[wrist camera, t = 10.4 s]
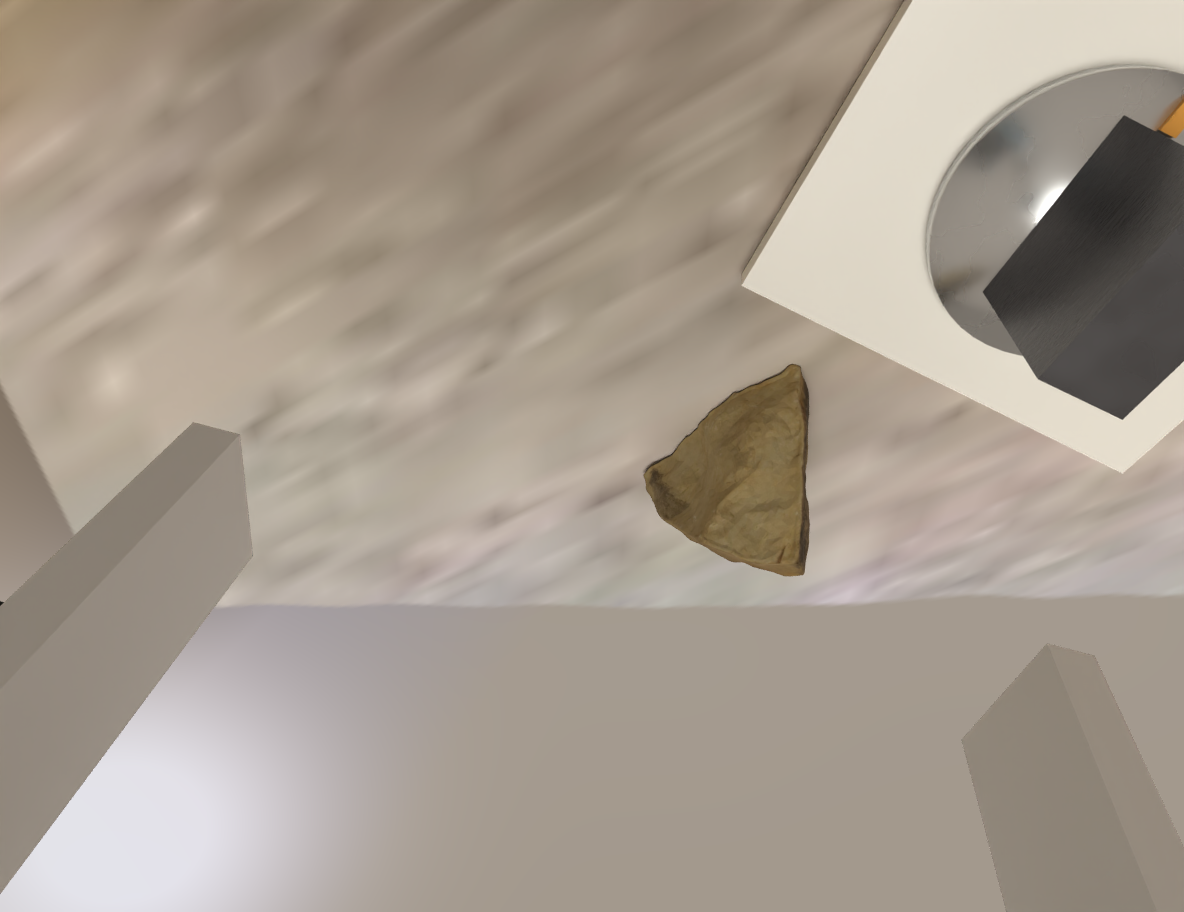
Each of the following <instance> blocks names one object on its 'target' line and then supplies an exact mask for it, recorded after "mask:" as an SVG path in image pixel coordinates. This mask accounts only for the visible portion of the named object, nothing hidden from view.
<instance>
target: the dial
mask: <svg viewBox="0 0 1184 912" xmlns="http://www.w3.org/2000/svg"><path fill="white" fill-rule="evenodd" d="M925 251H926V260H927V267H928V271H929V275H930V278H931V281H932V284H933V286H934V288H935V290H936V293H937V295H938V297H939V299H940V301H941V303H942V304H943V306H944V307H945V309H946V310H947V312H948V313H949V315H950V316H951V317H952V318H953V319H954V321H955V322H956V323H957V324H958V325H959V326H960V327H961V328H962V329H964V330H965V331H966V332H967V333H969V334H970V335H971V336H972V337H974V338H976V339H977V340H979V341H981V342H983V343H984V344H986V345H988V346H991V347H993V348H996V349H998V350H1001V351H1004V352H1008V353H1012V354H1016V355H1020V356H1023V357H1024V358H1025V360H1026V362H1027V363H1028V365H1029V366H1030V368H1031V369H1032V371H1033V373H1034V374H1035V376H1036V377H1037V379H1038V380H1040V381H1042V382H1044V383H1047V384H1049V385H1051V386H1053V387H1055V388H1057V389H1059V390H1061V391H1063V392H1065V393H1067V394H1069V395H1072V396H1074V397H1076V398H1078V399H1080V400H1082V401H1084V402H1086V403H1088V404H1090V405H1092V406H1094V407H1097V408H1099V409H1101V410H1103V411H1105V412H1107V413H1109V414H1111V415H1113V416H1115V417H1117V418H1119V419H1122V420H1123V419H1124V418H1125V417H1126V416H1127V415H1128V414H1129V413H1130V412H1131V411H1132V410H1133V409H1134V408H1135V407H1137V406H1138V405H1139V404H1140V403H1141V402H1142V401H1143V400H1144V399H1145V398H1146V397H1147V396H1148V395H1149V394H1150V393H1151V392H1152V391H1153V390H1154V389H1155V388H1156V387H1158V386H1159V385H1160V384H1161V383H1162V382H1163V381H1164V380H1165V379H1166V378H1167V377H1168V376H1169V375H1170V374H1171V373H1172V372H1173V371H1174V370H1175V369H1176V368H1177V367H1178V366H1180V365H1181V364H1182V363H1183V362H1184V74H1183V73H1180V72H1177V71H1173V70H1169V69H1165V68H1161V67H1157V66H1148V65H1138V64H1127V65H1110V66H1104V67H1098V68H1092V69H1087V70H1084V71H1080V72H1077V73H1073V74H1070V75H1066V76H1064V77H1061V78H1059V79H1057V80H1054V81H1052V82H1049V83H1047V84H1045V85H1042V86H1040V87H1039V88H1037V89H1035V90H1033V91H1031V92H1029V93H1028V94H1026V95H1024V96H1022V97H1021V98H1019V99H1018V100H1016V101H1015V102H1013V103H1012V104H1010V105H1009V106H1007V107H1006V108H1005V109H1003V110H1002V111H1001V112H999V113H998V114H997V115H996V116H995V117H993V118H992V119H991V120H990V121H989V122H988V123H986V124H985V125H984V126H983V127H982V128H981V129H980V130H979V131H978V132H977V133H976V134H975V135H974V136H973V138H972V139H971V140H970V141H969V142H968V143H967V144H966V145H965V147H964V148H963V149H962V151H961V152H960V153H959V154H958V156H957V157H956V158H955V160H954V161H953V163H952V165H951V166H950V168H949V169H948V171H947V173H946V174H945V176H944V178H943V180H942V182H941V184H940V186H939V188H938V191H937V193H936V195H935V198H934V201H933V204H932V207H931V210H930V213H929V218H928V224H927V229H926V243H925Z"/></svg>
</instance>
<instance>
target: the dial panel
mask: <svg viewBox="0 0 1184 912" xmlns="http://www.w3.org/2000/svg"><path fill="white" fill-rule="evenodd" d="M1127 64H1138V65H1148V66H1157V67H1161V68H1165V69H1169V70H1173V71H1177V72H1180V73H1183V74H1184V0H904V2H903V3H902V5H901V7H900V8H899V10H898V12H897V13H896V15H895V17H894V19H893V20H892V22H891V24H890V25H889V27H888V29H887V30H886V32H885V34H884V35H883V37H882V39H881V40H880V42H879V44H878V45H877V47H876V49H875V51H874V52H873V54H872V56H871V57H870V59H869V61H868V62H867V64H866V66H865V67H864V69H863V71H862V72H861V74H860V76H859V77H858V79H857V81H856V83H855V84H854V86H853V88H852V89H851V91H850V93H849V94H848V96H847V98H846V99H845V101H844V103H843V104H842V106H841V108H840V109H839V111H838V113H837V115H836V116H835V118H834V120H833V121H832V123H831V125H830V126H829V128H828V130H827V131H826V133H825V135H824V136H823V138H822V140H821V141H820V143H819V145H818V147H817V148H816V150H815V152H814V153H813V155H812V157H811V158H810V160H809V162H808V163H807V165H806V167H805V168H804V170H803V172H802V173H801V175H800V177H799V179H798V180H797V182H796V184H795V185H794V187H793V189H792V190H791V192H790V194H789V195H788V197H787V199H786V200H785V202H784V204H783V205H782V207H781V209H780V211H779V212H778V214H777V216H776V217H775V219H774V221H773V222H772V224H771V226H770V227H769V229H768V231H767V232H766V234H765V236H764V237H763V239H762V241H761V243H760V244H759V246H758V248H757V249H756V251H755V253H754V254H753V256H752V258H751V259H750V261H749V263H748V264H747V266H746V268H745V269H744V271H743V273H742V286H743V287H745V288H747V289H749V290H751V291H753V292H755V293H757V294H759V295H761V296H763V297H765V298H767V299H769V300H771V301H773V302H776V303H778V304H780V305H782V306H784V307H786V308H788V309H790V310H792V311H794V312H796V313H798V314H800V315H802V316H804V317H806V318H808V319H810V320H812V321H814V322H816V323H818V324H820V325H822V326H824V327H826V328H828V329H830V330H832V331H834V332H836V333H838V334H840V335H842V336H844V337H847V338H849V339H851V340H853V341H855V342H857V343H859V344H861V345H863V346H865V347H867V348H869V349H871V350H873V351H875V352H877V353H879V354H881V355H883V356H885V357H887V358H889V359H891V360H893V361H895V362H897V363H899V364H901V365H903V366H905V367H907V368H909V369H911V370H913V371H916V372H918V373H920V374H922V375H924V376H926V377H928V378H930V379H932V380H934V381H936V382H938V383H940V384H942V385H944V386H946V387H948V388H950V389H952V390H954V391H956V392H958V393H960V394H962V395H964V396H966V397H968V398H970V399H972V400H974V401H976V402H978V403H980V404H982V405H984V406H987V407H989V408H991V409H993V410H995V411H997V412H999V413H1001V414H1003V415H1005V416H1007V417H1009V418H1011V419H1013V420H1015V421H1017V422H1019V423H1021V424H1023V425H1025V426H1027V427H1029V428H1031V429H1033V430H1035V431H1037V432H1039V433H1041V434H1043V435H1045V436H1047V437H1049V438H1051V439H1053V440H1056V441H1058V442H1060V443H1062V444H1064V445H1066V446H1068V447H1070V448H1072V449H1074V450H1076V451H1078V452H1080V453H1082V454H1084V455H1086V456H1088V457H1090V458H1092V459H1094V460H1096V461H1098V462H1100V463H1102V464H1104V465H1106V466H1108V467H1110V468H1112V469H1114V470H1116V471H1118V472H1120V473H1124V472H1125V471H1126V470H1127V469H1128V468H1129V467H1130V466H1132V465H1133V464H1134V463H1135V462H1136V461H1137V460H1138V459H1140V458H1141V457H1142V456H1143V455H1144V454H1145V453H1146V452H1148V451H1149V450H1150V449H1151V448H1152V447H1153V446H1154V445H1156V444H1157V443H1158V442H1159V441H1160V440H1161V439H1162V438H1163V437H1165V436H1166V435H1167V434H1168V433H1169V432H1170V431H1171V430H1173V429H1174V428H1175V427H1176V426H1177V425H1178V424H1179V423H1181V422H1182V421H1183V420H1184V362H1183V363H1182V364H1181V365H1180V366H1178V367H1177V368H1176V369H1175V370H1174V371H1173V372H1172V373H1171V374H1170V375H1169V376H1168V377H1167V378H1166V379H1165V380H1164V381H1163V382H1162V383H1161V384H1160V385H1159V386H1158V387H1156V388H1155V389H1154V390H1153V391H1152V392H1151V393H1150V394H1149V395H1148V396H1147V397H1146V398H1145V399H1144V400H1143V401H1142V402H1141V403H1140V404H1139V405H1138V406H1137V407H1135V408H1134V409H1133V410H1132V411H1131V412H1130V413H1129V414H1128V415H1127V416H1126V417H1125V418H1124V419H1123V420H1122V419H1119V418H1117V417H1115V416H1113V415H1111V414H1109V413H1107V412H1105V411H1103V410H1101V409H1099V408H1097V407H1094V406H1092V405H1090V404H1088V403H1086V402H1084V401H1082V400H1080V399H1078V398H1076V397H1074V396H1072V395H1069V394H1067V393H1065V392H1063V391H1061V390H1059V389H1057V388H1055V387H1053V386H1051V385H1049V384H1047V383H1044V382H1042V381H1040V380H1038V379H1037V377H1036V376H1035V374H1034V373H1033V371H1032V369H1031V368H1030V366H1029V365H1028V363H1027V362H1026V360H1025V358H1024V357H1023V356H1020V355H1016V354H1012V353H1008V352H1004V351H1001V350H998V349H996V348H993V347H991V346H988V345H986V344H984V343H983V342H981V341H979V340H977V339H976V338H974V337H972V336H971V335H970V334H969V333H967V332H966V331H965V330H964V329H962V328H961V327H960V326H959V325H958V324H957V323H956V322H955V321H954V319H953V318H952V317H951V316H950V315H949V313H948V312H947V310H946V309H945V307H944V306H943V304H942V303H941V301H940V299H939V297H938V295H937V293H936V290H935V288H934V286H933V284H932V281H931V278H930V275H929V271H928V267H927V260H926V251H925V243H926V229H927V224H928V218H929V213H930V210H931V207H932V204H933V201H934V198H935V195H936V193H937V191H938V188H939V186H940V184H941V182H942V180H943V178H944V176H945V174H946V173H947V171H948V169H949V168H950V166H951V165H952V163H953V161H954V160H955V158H956V157H957V156H958V154H959V153H960V152H961V151H962V149H963V148H964V147H965V145H966V144H967V143H968V142H969V141H970V140H971V139H972V138H973V136H974V135H975V134H976V133H977V132H978V131H979V130H980V129H981V128H982V127H983V126H984V125H985V124H986V123H988V122H989V121H990V120H991V119H992V118H993V117H995V116H996V115H997V114H998V113H999V112H1001V111H1002V110H1003V109H1005V108H1006V107H1007V106H1009V105H1010V104H1012V103H1013V102H1015V101H1016V100H1018V99H1019V98H1021V97H1022V96H1024V95H1026V94H1028V93H1029V92H1031V91H1033V90H1035V89H1037V88H1039V87H1040V86H1042V85H1045V84H1047V83H1049V82H1052V81H1054V80H1057V79H1059V78H1061V77H1064V76H1066V75H1070V74H1073V73H1077V72H1080V71H1084V70H1087V69H1092V68H1098V67H1104V66H1110V65H1127Z"/></svg>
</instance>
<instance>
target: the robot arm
mask: <svg viewBox="0 0 1184 912" xmlns="http://www.w3.org/2000/svg"><path fill="white" fill-rule="evenodd" d="M252 556H253V551H252V541H251V532H250V523H249V514H248V504H247V495H246V486H245V476H244V467H243V458H242V449H241V439H240V434H236V433H233V432H229V431H225V430H221V429H217V428H213V427H209V426H206V425H202V424H198V423H194V422H193V423H192V424H191V425H190V426H189V427H188V428H187V429H186V430H185V431H184V432H183V433H182V434H181V435H180V436H178V437H177V438H176V439H175V440H174V441H173V442H172V443H171V444H170V445H169V446H168V447H167V448H166V449H165V450H164V451H163V452H162V453H161V454H160V455H159V456H157V457H156V458H155V459H154V460H153V461H152V462H151V463H150V464H149V465H148V466H147V467H146V468H145V469H144V470H143V471H142V472H141V473H140V474H139V475H138V476H136V477H135V478H134V479H133V480H132V481H131V482H130V483H129V484H128V485H127V486H126V487H125V488H124V489H123V490H122V491H121V492H120V493H119V494H118V495H117V496H115V497H114V498H113V499H112V500H111V501H110V502H109V503H108V504H107V505H106V506H105V507H104V508H103V509H102V510H101V511H100V512H99V513H98V514H97V515H96V516H94V517H93V518H92V519H91V520H90V521H89V522H88V523H87V524H86V525H85V526H84V527H83V528H82V529H81V530H80V531H79V532H78V533H77V534H76V535H75V536H73V537H72V538H71V539H70V540H69V541H68V542H67V543H66V544H65V545H64V546H63V547H62V548H61V549H60V550H59V551H58V552H57V553H56V554H55V555H53V556H52V557H51V558H50V559H49V560H48V561H47V562H46V563H45V564H44V565H43V566H42V567H41V568H40V569H39V570H38V571H37V572H36V573H35V574H34V575H32V576H31V577H30V578H29V579H28V580H27V581H26V582H25V583H24V584H23V585H22V586H21V587H20V588H19V589H18V590H17V591H16V592H15V593H14V594H13V595H12V596H10V597H9V598H8V599H7V600H6V601H5V602H1V601H0V894H1V892H2V891H3V890H4V888H5V887H6V886H7V884H8V883H9V881H10V880H11V879H12V878H13V876H14V875H15V874H16V872H17V871H18V870H19V868H20V867H21V866H22V864H23V863H24V862H25V860H26V859H27V858H28V856H29V855H30V854H31V852H32V851H33V850H34V848H35V847H36V845H37V844H38V843H39V842H40V840H41V839H42V837H43V836H44V835H45V833H46V832H47V831H48V829H49V828H50V826H51V825H52V824H53V823H54V821H55V820H56V819H57V817H58V816H59V815H60V813H61V812H62V811H63V809H64V808H65V807H66V805H67V804H68V803H69V801H70V800H71V798H72V797H73V796H74V795H75V793H76V792H77V791H78V789H79V788H80V787H81V785H82V784H83V783H84V781H85V780H86V778H87V777H88V776H89V774H90V773H91V772H92V770H93V769H94V768H95V766H96V765H97V764H98V762H99V761H100V760H101V758H102V757H103V756H104V754H105V753H106V752H107V750H108V749H109V748H110V746H111V745H112V744H113V742H114V741H115V739H116V738H117V737H118V736H119V734H120V733H121V731H122V730H123V729H124V728H125V726H126V725H127V724H128V722H129V721H130V720H131V718H132V717H133V716H134V714H135V713H136V711H137V710H138V709H139V707H140V706H141V705H142V703H143V702H144V701H145V699H146V698H147V697H148V695H149V694H150V693H151V691H152V690H153V689H154V687H155V686H156V685H157V683H158V682H159V681H160V679H161V678H162V677H163V675H164V674H165V672H166V671H167V670H168V669H169V667H170V666H171V664H172V663H173V662H174V661H175V659H176V658H177V657H178V655H179V654H180V653H181V651H182V650H183V649H184V647H185V646H186V644H187V643H188V642H189V640H190V639H191V638H192V636H193V635H194V634H195V632H196V631H197V630H198V628H199V627H200V625H201V624H202V623H203V622H204V620H205V619H206V617H207V616H208V615H209V614H210V612H211V611H212V610H213V608H214V607H215V606H216V604H217V603H218V602H219V600H220V599H221V598H222V596H223V595H224V594H225V592H226V591H227V590H228V588H229V587H230V586H231V584H232V583H233V581H234V580H235V579H236V577H237V576H238V575H239V573H240V572H241V571H242V569H243V568H244V567H245V565H246V564H247V563H248V561H249V560H250V559H251V557H252ZM962 744H963V747H964V752H965V755H966V759H967V763H968V767H969V771H970V774H971V778H972V782H973V786H974V790H975V793H976V797H977V801H978V805H979V809H980V813H981V816H982V820H983V824H984V828H985V832H986V836H987V840H988V843H989V847H990V851H991V855H992V859H993V862H994V866H995V870H996V874H997V878H998V882H999V885H1000V889H1001V893H1002V897H1003V901H1004V905H1005V908H1006V912H1184V847H1183V844H1182V842H1181V840H1180V838H1179V836H1178V833H1177V831H1176V829H1175V827H1174V825H1173V823H1172V820H1171V818H1170V816H1169V814H1168V812H1167V810H1166V808H1165V805H1164V804H1163V801H1162V799H1161V797H1160V795H1159V793H1158V790H1157V788H1156V786H1155V784H1154V782H1153V780H1152V778H1151V775H1150V773H1149V771H1148V769H1147V767H1146V765H1145V763H1144V760H1143V758H1142V756H1141V754H1140V752H1139V750H1138V748H1137V745H1136V743H1135V741H1134V739H1133V737H1132V735H1131V733H1130V730H1129V728H1128V726H1127V724H1126V722H1125V720H1124V717H1123V715H1122V713H1121V711H1120V709H1119V707H1118V705H1117V703H1116V700H1115V698H1114V696H1113V694H1112V692H1111V690H1110V688H1109V685H1108V683H1107V681H1106V679H1105V677H1104V675H1103V673H1102V670H1101V668H1100V666H1099V664H1098V662H1097V660H1096V657H1095V656H1094V655H1090V654H1086V653H1082V652H1079V651H1075V650H1071V649H1067V648H1063V647H1059V646H1056V645H1051V644H1046V645H1045V646H1044V647H1043V649H1042V650H1041V651H1040V652H1039V653H1038V654H1037V655H1036V657H1034V659H1033V660H1032V661H1031V662H1030V663H1029V664H1028V665H1027V667H1026V668H1025V669H1024V670H1023V671H1022V672H1021V673H1020V674H1019V676H1018V677H1017V678H1016V679H1015V680H1014V681H1013V682H1012V684H1011V685H1010V686H1009V687H1008V688H1007V689H1006V690H1005V691H1004V692H1003V693H1002V695H1001V696H1000V697H999V698H998V699H997V700H996V701H995V702H994V704H993V705H992V706H991V707H990V708H989V709H988V710H987V712H986V713H985V714H984V715H983V716H982V717H981V718H980V719H979V720H978V722H977V723H976V724H975V725H974V726H973V727H972V728H971V730H970V731H969V732H968V733H967V734H966V735H965V736H964V737H963V739H962Z"/></svg>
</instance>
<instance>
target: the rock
mask: <svg viewBox="0 0 1184 912" xmlns="http://www.w3.org/2000/svg"><path fill="white" fill-rule="evenodd" d="M808 418H809V394H808V389H807V386H806V383H805V381H804V379H803V377H802V373H801V368H800V367H799V366H798V365H794V364H793V365H790V366H788V367H787V368H786V369H785V371H784V372H782V373H781V374H780V375H778V376H775V377H773V378H771V379H768V380H766V381H764V382H762V383H761V384H758V385H753V386H750V387H748V388H746V389H744V390H742V391H741V392H739V393H733V394H732V395H731V396H730V397H729V398H728V399H727V400H726V401H725V402H724V403H723V404H721V405H720V406H718V407H717V408H716V409H714V410H712V411H711V412H710V413H709V414H708V417H706V418H705V419H704V420H703V421H702V422H701V423H700V424H699V426H698V429H696V430H695V431H694V432H693V433H692V434H691V435H690V436H688V437H686V438H685V439H684V440H683V441H682V442H681V443H680V445H679V446H678V448H677V450H676V451H675V452H674V453H673V455H672V456H670V457H668V458H666V459H663V460H662V461H660V462H659V463H657V464H655V465H653V466H651V467H650V468H649V469H648V470H647V472H646V473H645V474H644V478H645V481H646V490H647V492H648V493H649V495H650V496H651V498H652V501H653V502H654V504H655V507H656V510H657V512H658V514H659V516H660V517H661V518H662V519H663V520H664V521H665V522H667V523H668V524H670V525H672V526H673V527H675V528H676V529H678V530H679V531H681V532H682V533H683V534H684V535H685V536H686V537H687V538H689V539H690V540H692V541H694V542H696V543H699V544H701V545H703V546H705V547H707V548H709V549H710V550H711V551H713V552H715V553H716V554H718V555H719V556H721V557H724V558H725V559H727V560H729V561H731V562H744V563H746V564H748V565H750V566H752V567H756V568H759V569H763V570H767V571H771V572H774V573H777V574H780V575H783V576H799V575H803V574H804V572H805V562H806V557H807V552H808V546H809V527H810V523H809V506H808V501H807V498H806V488H805V483H806V473H805V470H806V464H807V454H808Z"/></svg>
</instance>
